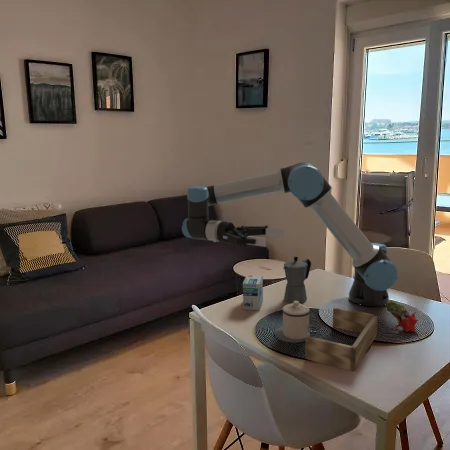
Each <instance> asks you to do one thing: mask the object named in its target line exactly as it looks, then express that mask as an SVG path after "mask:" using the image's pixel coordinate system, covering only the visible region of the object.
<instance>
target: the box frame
mask: <svg viewBox="0 0 450 450" xmlns="http://www.w3.org/2000/svg"><path fill="white" fill-rule="evenodd" d="M378 316H379V315H378V314H373V313H367V312H363V311H359V310H358V311H356V310H354V309H353V310H351V309H346V308H342V307H335V306H334V307H333V308H332V328H335V327H339V328H342V329H341V330H344V329H347V330H346V331H349V330H352V331H351V332H353V331H356V332H355V333H358V332H361V333H359V335H358V337H357V338H356V339H355V341H354V343H353V344H352V345H349V344H344V343H340V342H336V341H332V340H327V339H323V338H318V337H314V336H311V335H310V336H306V341H305V352H304V353H305V354H304V356H305V359H306V360H307V361H308V360H309V361H313V362H315V363H319V364H324V365H328V366H332V367H336V368H340V369H343V370H346V371H352V372H355V371H356V370H357V368H358V366H359V364H361V361H362V359H363V358H364V357H365V355H366V353H367V351H368V350H369V348H370V347H371V346H372V344H373V342H374V340H375V339H376V337H377V335H378V322H379V321H378V319H379V317H378ZM339 328H338V329H339Z"/></svg>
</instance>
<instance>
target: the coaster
mask: <svg viewBox="0 0 450 450" xmlns="http://www.w3.org/2000/svg"><path fill="white" fill-rule="evenodd" d="M274 335H275V336H274ZM273 336H274V337H275V338H276V339H277V338H278V339H277V340H279V341H281V340H282V341H281V342H284V341H285V342H284V343H289V342H290V343H291V344H292V343H293V344H295V343H297V344H298V343H302V342H306V338H304V339H300V340H294V339H289V338H287V337H285V336H284V335H283V326H280V327H278V328H276V329H274V332H273ZM308 336H310V337H311V332H310V331H309V335H308Z"/></svg>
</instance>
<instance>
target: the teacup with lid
mask: <svg viewBox="0 0 450 450" xmlns="http://www.w3.org/2000/svg"><path fill="white" fill-rule="evenodd" d="M281 312H282V327H283V335H284V336H285V337H287V338H289V339H294V340H300V339H304V338H306V336H308V335H309V332H310V313H311V310H310V308H309V307H308V306H307V305H305V304H303V303H299V301H293V303H288V304H285V305H284V306H283V307H282V309H281Z"/></svg>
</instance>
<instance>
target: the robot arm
mask: <svg viewBox="0 0 450 450" xmlns="http://www.w3.org/2000/svg"><path fill="white" fill-rule="evenodd" d="M332 189H333V188H332V186H331V185H330V184H329V182H328V181H327V180H326V178H325V177H324V176H323V174H322V172H321V170H319V168H317V167H315V165H313V164H312V163H309V162H305V161H303V162H298V163H295V164H291V165H289V166H286V167H282V168H279V169H278V170H277V171H275V172H270V173H266V174H265V173H264V174H261V175H256V176H252V177H246V178H241V179H236V180H231V181H227V182H224V183H219V184H218V183H217V184H214V185H209V186H205V185H204V186H202V185H195V186H190V187H187V195H186V198H187V213H188V214H187V218H185V219H184V220H183V221H182V225H181V231H182V234H183V235H184V237H186V238H189V239H193V240H203V241H211V242H213V243H216V242H217V243H218V242H219V243H226V244H230V243H232V244H234V245H237V246H242V247H243V248H245V247H247V245H249V246H257V247H264V248H265V247H267V237H272V238H273V237H274V238H284V231H285V230H284V229H282V228H280V229H279V228H271V227H269V226H268V225H263V226H261V225H259V226H251V225H250V226H247V225H246V226H245V225H241V226H235V225H234V223H233V222H231V221H222V220H214V219H209V217H210V216H209V207H210V206H214V205H218V204H223V203H230V202H233V201H234V202H235V201H238V200H244V199H248V198H254V197H259V196H264V195H268V194H269V195H270V194H274V193H275V194H276V193H278V192H282V193H283V194H286V193H291V194H292V195H293V196H294V197H295V198H297V199H298V201H299V202H300V204H302V206H303V207H304V208H305V209H311V210H312V211H313V212H314V214H315V215H316V216H317V217H318V219H319V220H320V221H321V223H323V225H324V226H325V227H326V228H327V230H328V231H329V232H330V233H331V234H332V236H333V237H334V238H335V239H336V241H337V242H338V243H339V244H340V245H341V247H342V248H343V249H344V250H345V252H346V253H347V254H348V255H349V256H350V258H351V265H352V267H353V268H354V271H353V273H354V274H353V282H352V284H351V287H350V289H349V292H348V300H349V299H350V300H351V301H352V302H351V301H350V300H349V301H350V302H351V303H353V302H355V303H357V304H356V305H358V304H361V305H366V306H365V307H367V306H379V307H382V306H381V305H384V306H386V305H385V304H387V303H389V302H390V300H389V299H390V297H389V293H388V290H389V289H391V288H392V287H393V286H394V285H395V284H396V283H397V281H398V277H399V271H398V268H397V265H396V264H395V263H394V262H393V261H391V259H390V258H389V257H388V255H387V254H388V253H387V252H388V248H387V245H386V244H384V243H376V242H370V240H369V239H368V238H367V236H366V235H365V234H364V233H363V230H361V229H360V227H358V225H357V224H356V223H355V221H354V220H353V219H352V218H351V216H350V215H349V214H348V213H347V212H346V210H345V209H344V208H343V207H342V204H340V203H339V201H338V200H337V199H336V198H335V197H334V196H333V194H332ZM259 236H266V237H259ZM355 303H354V304H355ZM361 305H360V306H361Z"/></svg>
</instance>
